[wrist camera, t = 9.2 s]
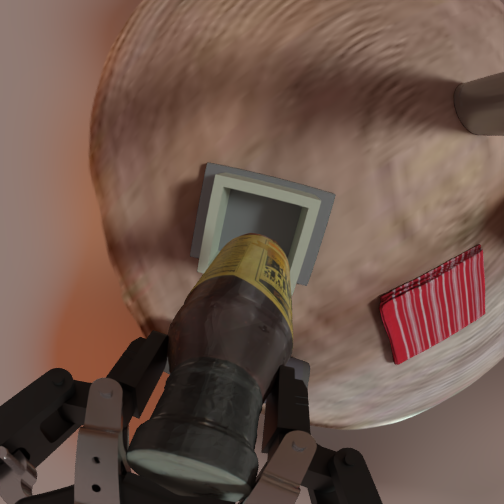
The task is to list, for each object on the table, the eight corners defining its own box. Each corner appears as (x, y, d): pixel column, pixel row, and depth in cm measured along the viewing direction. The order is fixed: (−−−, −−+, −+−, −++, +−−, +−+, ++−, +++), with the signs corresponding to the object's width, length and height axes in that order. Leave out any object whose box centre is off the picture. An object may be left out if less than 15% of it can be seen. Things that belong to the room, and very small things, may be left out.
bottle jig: (333, 193, 36) (346, 200, 29) (306, 282, 41) (310, 306, 34) (209, 162, 37) (194, 163, 30) (192, 253, 41) (176, 271, 34)
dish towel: (373, 296, 41) (378, 304, 39) (478, 240, 36) (486, 245, 33) (390, 362, 45) (394, 370, 43) (481, 311, 40) (487, 317, 38)
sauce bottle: (290, 292, 25) (293, 517, 6) (224, 295, 26) (146, 498, 7) (286, 222, 23) (298, 457, 4) (214, 228, 24) (61, 414, 5)
